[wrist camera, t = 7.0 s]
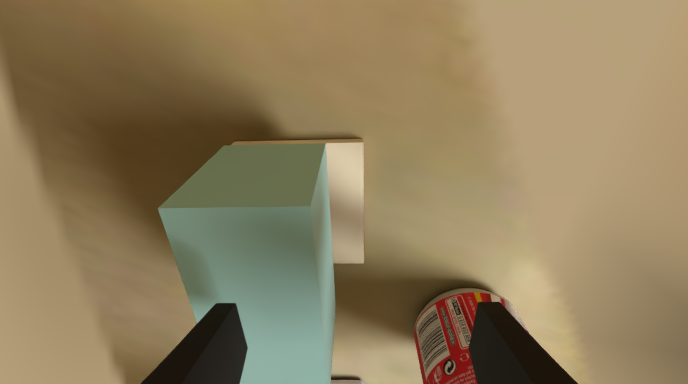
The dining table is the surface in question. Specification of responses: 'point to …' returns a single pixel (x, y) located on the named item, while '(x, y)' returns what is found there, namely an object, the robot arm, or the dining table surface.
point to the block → (262, 254)
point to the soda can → (451, 335)
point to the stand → (341, 194)
